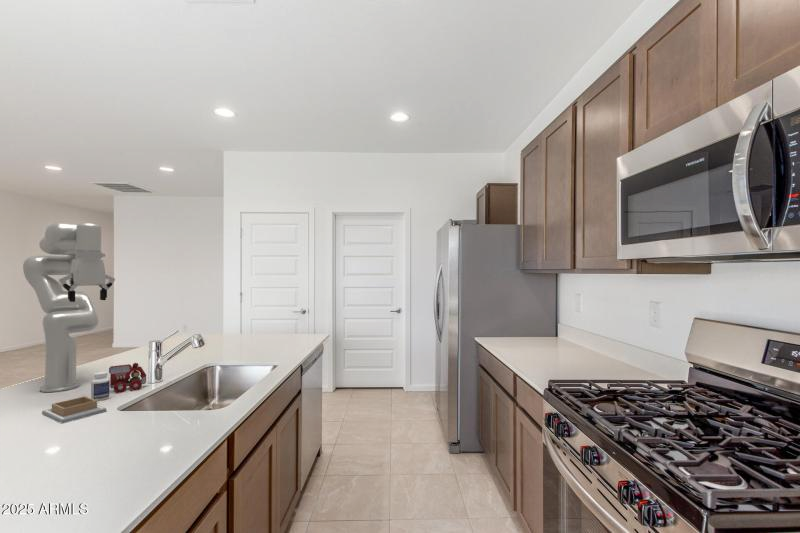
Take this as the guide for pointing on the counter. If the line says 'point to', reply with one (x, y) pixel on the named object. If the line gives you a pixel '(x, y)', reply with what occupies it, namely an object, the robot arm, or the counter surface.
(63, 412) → the bay
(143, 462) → the counter surface
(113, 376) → the toy fire truck
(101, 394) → the pill bottle
